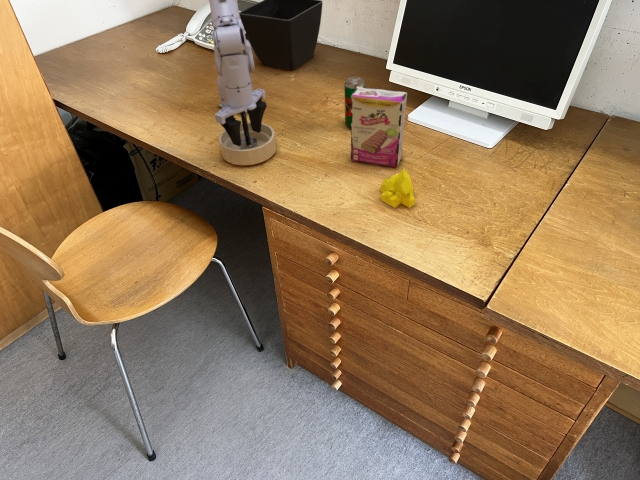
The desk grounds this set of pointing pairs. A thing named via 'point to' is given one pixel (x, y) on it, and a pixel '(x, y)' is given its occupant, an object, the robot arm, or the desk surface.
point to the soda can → (349, 90)
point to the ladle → (247, 135)
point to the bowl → (249, 155)
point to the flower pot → (283, 31)
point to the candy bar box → (377, 126)
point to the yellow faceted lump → (398, 190)
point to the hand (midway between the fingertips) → (247, 137)
